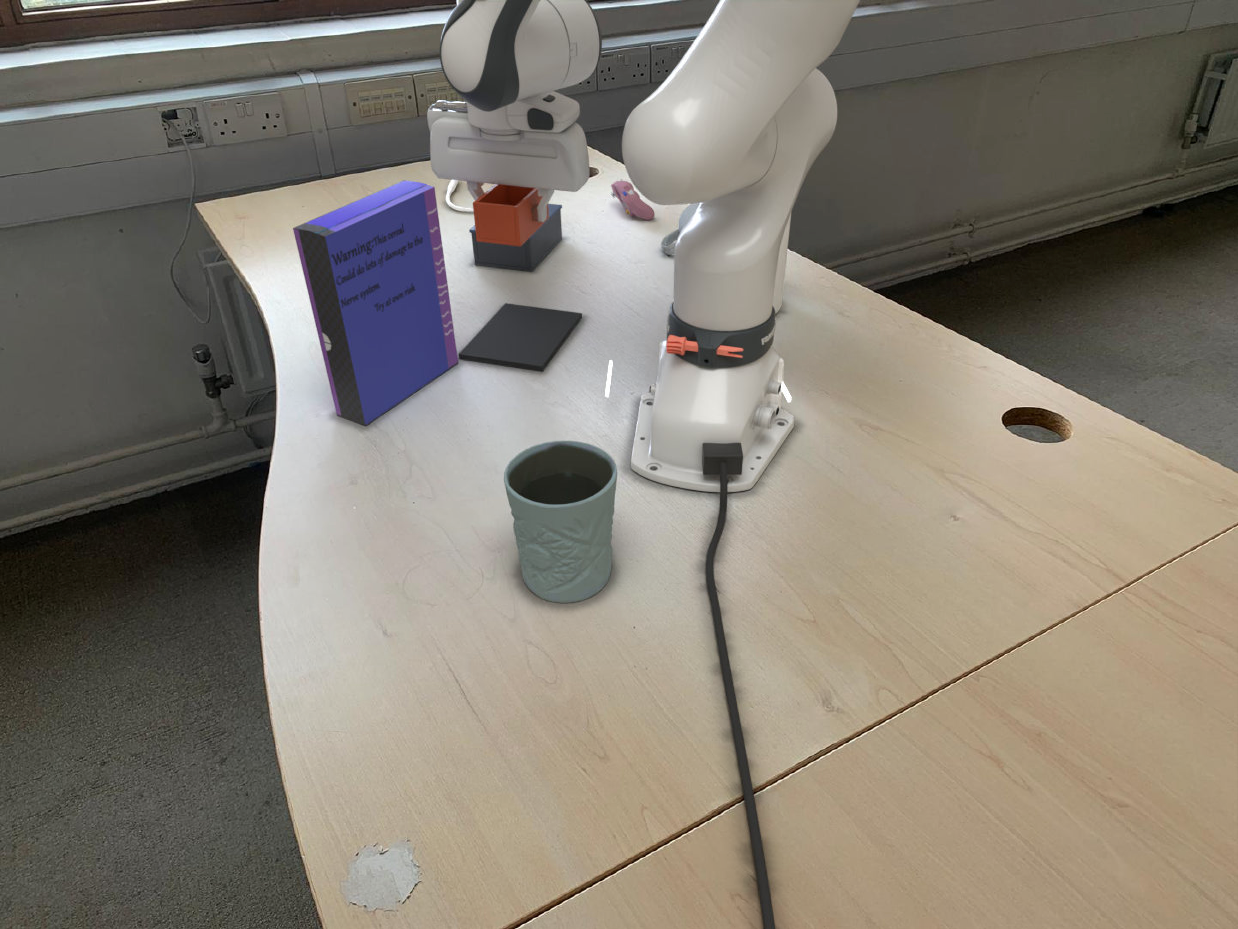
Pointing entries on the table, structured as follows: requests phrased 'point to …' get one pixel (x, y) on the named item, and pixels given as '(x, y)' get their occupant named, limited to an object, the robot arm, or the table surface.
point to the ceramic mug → (674, 235)
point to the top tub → (506, 215)
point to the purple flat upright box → (379, 298)
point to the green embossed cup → (563, 518)
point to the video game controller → (631, 200)
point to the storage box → (523, 255)
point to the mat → (521, 337)
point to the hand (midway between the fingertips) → (513, 217)
